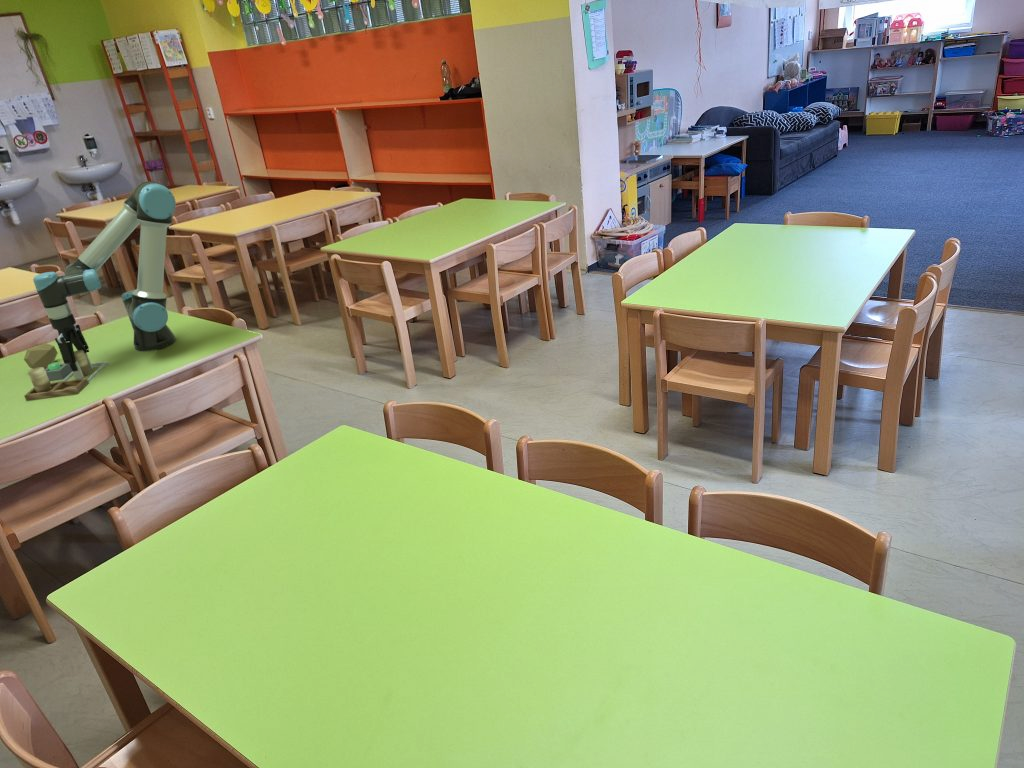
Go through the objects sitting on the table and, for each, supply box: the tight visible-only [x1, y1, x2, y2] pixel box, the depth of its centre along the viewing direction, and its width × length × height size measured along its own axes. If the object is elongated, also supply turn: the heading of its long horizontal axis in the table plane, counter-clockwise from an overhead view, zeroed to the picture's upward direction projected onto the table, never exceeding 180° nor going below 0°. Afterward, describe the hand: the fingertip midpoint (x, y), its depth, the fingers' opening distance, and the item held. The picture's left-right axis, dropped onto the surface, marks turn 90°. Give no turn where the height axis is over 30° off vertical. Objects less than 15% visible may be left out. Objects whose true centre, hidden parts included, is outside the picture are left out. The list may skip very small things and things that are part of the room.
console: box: [45, 362, 72, 382], centre depth 265 cm, size 7×7×4 cm
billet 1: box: [27, 367, 52, 393], centre depth 250 cm, size 5×5×9 cm
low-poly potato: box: [23, 342, 59, 370], centre depth 276 cm, size 15×11×12 cm
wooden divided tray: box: [23, 377, 90, 402], centre depth 252 cm, size 18×9×3 cm, turn 95°
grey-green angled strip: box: [62, 361, 109, 383], centre depth 265 cm, size 10×16×2 cm, turn 5°
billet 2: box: [74, 350, 93, 377], centre depth 263 cm, size 5×5×9 cm
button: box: [48, 361, 61, 371], centre depth 265 cm, size 4×4×6 cm
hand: (84, 373), depth 265 cm, fingers open, 7 cm apart
